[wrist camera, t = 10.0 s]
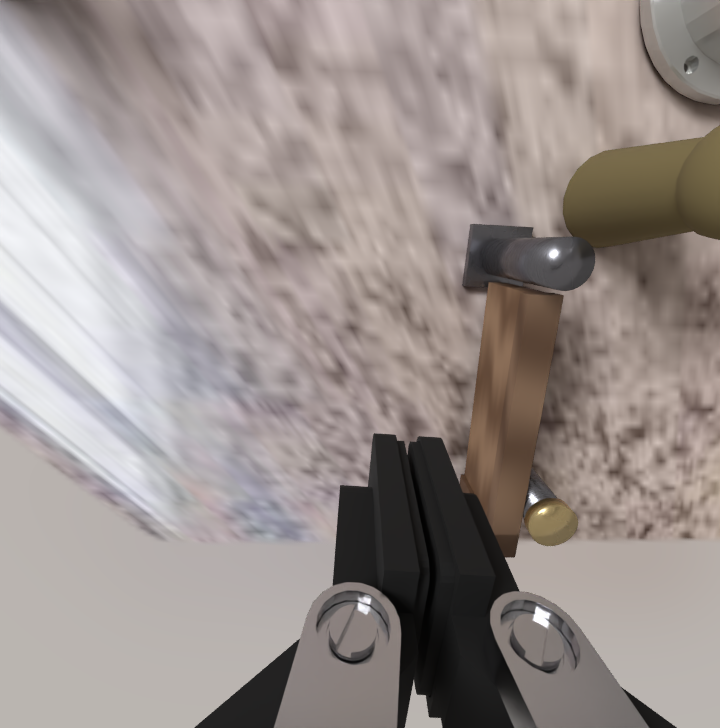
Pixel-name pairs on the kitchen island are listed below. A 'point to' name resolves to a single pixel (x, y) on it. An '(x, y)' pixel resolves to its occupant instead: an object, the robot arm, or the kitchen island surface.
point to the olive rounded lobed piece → (646, 192)
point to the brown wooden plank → (509, 403)
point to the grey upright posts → (543, 268)
